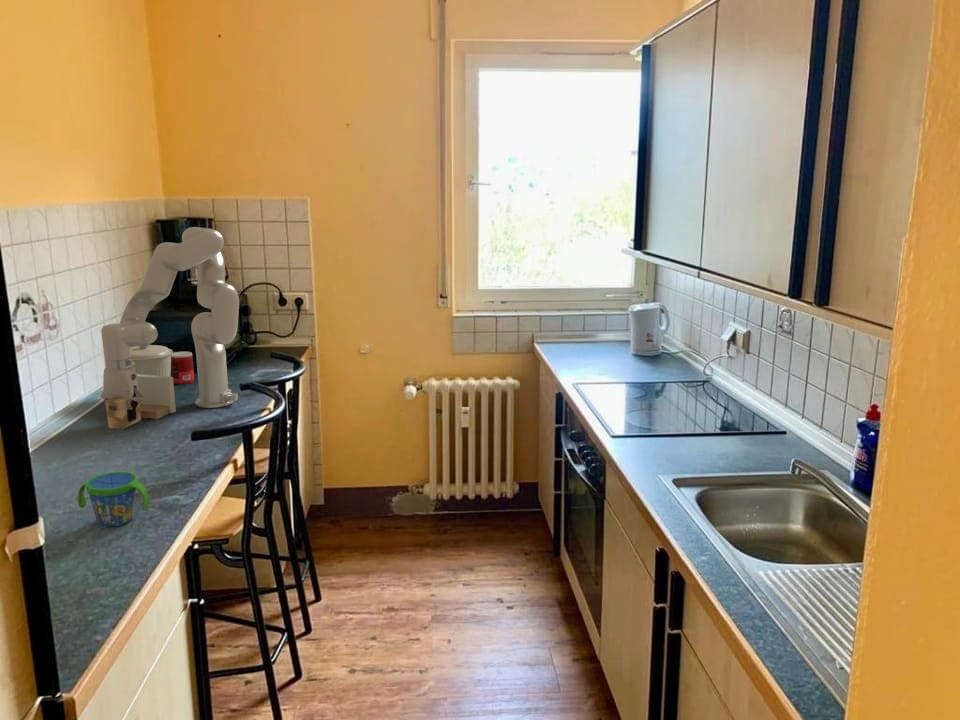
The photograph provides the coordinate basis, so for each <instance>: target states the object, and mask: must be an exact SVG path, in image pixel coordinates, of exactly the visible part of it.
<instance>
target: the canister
mask: <svg viewBox="0 0 960 720" xmlns="http://www.w3.org/2000/svg"><path fill="white" fill-rule="evenodd" d="M130 351H131V360H132V361H134V365H133V366H132V367H134V368H135V370H136V373H137V374H139V375H152V376H165V377H172V372H171V354H172V353H174V351H173V349H171V348H168V347H167V346H164V345H158V344H157V345H155V344H150V345H146V346H130Z"/></svg>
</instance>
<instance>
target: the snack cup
mask: <svg viewBox="0 0 960 720" xmlns="http://www.w3.org/2000/svg"><path fill="white" fill-rule="evenodd" d="M85 489H86V492H87V493H88V494H89V498H90V501H91V506H92V509H93V511H94V516H95V518H96V522H97V524H98V525H99V526H100V527H105V528H110V527H115V526H118V527H120V526H123V525H122V524H124V525H125V523H126V524H128V523H130V522H131V521H133V518H134V514H135V504H136V503H135V502H136V490H137V492H138V493H139V494H140V495H141V496H142V499H143V500H142V510H143V511H146V510H147V508H148V507H149V504H150V498H149V494H148V491H147V488H146V487H145V486H144V485H143V483H141V482H139V481H138V476H137V475H136V474H134V473H132V472H128V471H112V472H111V471H110V472H107V473H102V474H98V475H96V476H94V477H92V478H90V479H88V480H86V482H85V483H83V484H82V485H80V487H79V489H78V494H77V504H78V507H80V508H85V507H86V505H87V498H86V495H85ZM129 521H130V522H129ZM127 522H128V523H127Z"/></svg>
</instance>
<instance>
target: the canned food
mask: <svg viewBox="0 0 960 720" xmlns="http://www.w3.org/2000/svg"><path fill="white" fill-rule="evenodd" d="M193 360H194V359H193V353H192V352H191V351H178V352H177V351H175V352H173V353H172V354H171V377H173V384H174V385H178V384H182V385H188V383H189V384H192V383H193V382H194V381H195V371H194V361H193Z"/></svg>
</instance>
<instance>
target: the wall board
mask: <svg viewBox="0 0 960 720" xmlns="http://www.w3.org/2000/svg"><path fill="white" fill-rule="evenodd" d="M137 376H138V380H139V386H140V394H141V395H142V396H143V397H144V400H143V401H141V402H140V403H139V404H140V413H141V419H147V418H154V419H153V420H159V419H161V418H163V417H165V416H167V415H169V414H168V413H170V414H171V413H173V412H175V413H176V412H177V408H176V399H175V398H176V396H175V395H176V394H175V384H174V383H173V377H172V376H170V377H165V376H152V375H139V374H137ZM166 414H167V415H166ZM173 414H174V413H173ZM164 415H165V416H164ZM162 416H163V417H162ZM160 417H161V418H160ZM158 418H159V419H158Z"/></svg>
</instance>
